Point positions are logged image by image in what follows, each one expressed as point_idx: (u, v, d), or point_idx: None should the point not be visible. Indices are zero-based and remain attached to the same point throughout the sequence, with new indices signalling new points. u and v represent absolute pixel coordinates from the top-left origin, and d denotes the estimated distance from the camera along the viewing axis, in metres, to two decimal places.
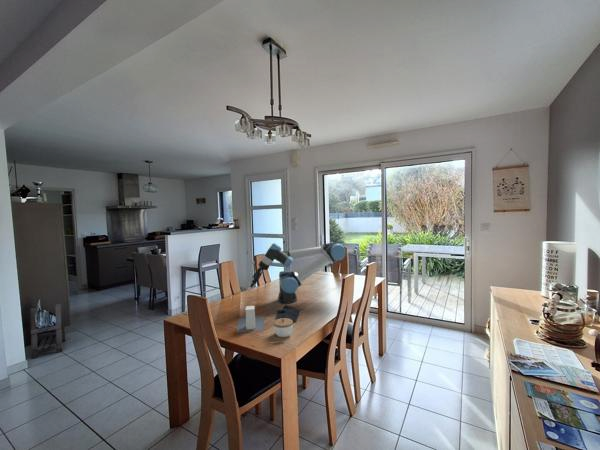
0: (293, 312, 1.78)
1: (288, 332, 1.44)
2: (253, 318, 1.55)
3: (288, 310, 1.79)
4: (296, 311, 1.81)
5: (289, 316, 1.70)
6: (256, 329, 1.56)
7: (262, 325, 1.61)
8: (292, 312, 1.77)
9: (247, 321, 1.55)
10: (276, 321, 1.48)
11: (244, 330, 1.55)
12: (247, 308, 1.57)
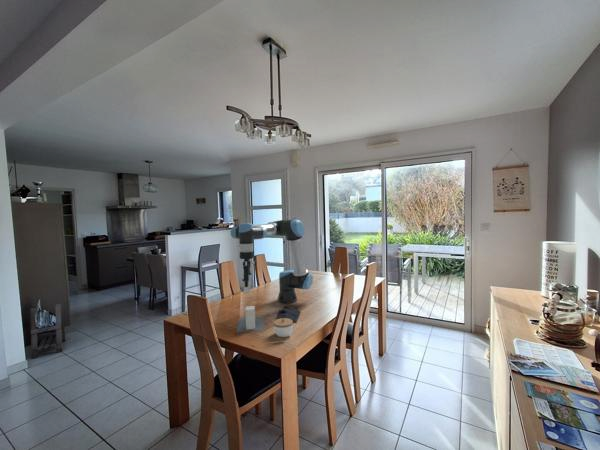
0: (294, 312, 1.77)
1: (288, 332, 1.44)
2: (253, 318, 1.55)
3: (288, 310, 1.79)
4: (297, 311, 1.80)
5: (290, 316, 1.69)
6: (256, 329, 1.56)
7: (262, 325, 1.61)
8: (293, 312, 1.77)
9: (247, 321, 1.55)
10: (276, 321, 1.48)
11: (244, 330, 1.55)
12: (247, 308, 1.57)
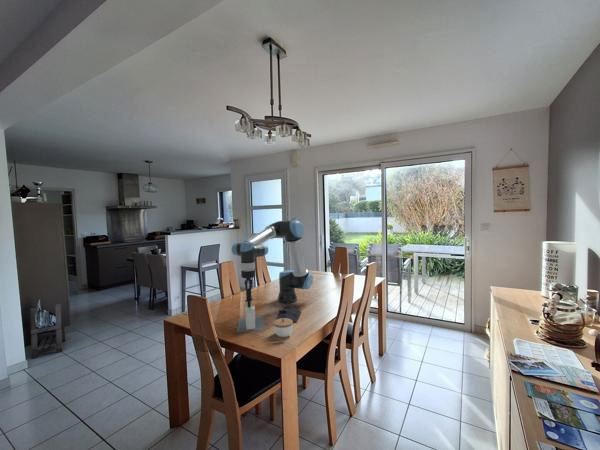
0: (294, 312, 1.77)
1: (288, 332, 1.44)
2: (253, 318, 1.55)
3: (289, 310, 1.78)
4: (297, 311, 1.80)
5: (290, 316, 1.69)
6: (256, 329, 1.56)
7: (262, 325, 1.61)
8: (293, 312, 1.77)
9: (247, 321, 1.55)
10: (276, 321, 1.48)
11: (244, 330, 1.55)
12: None
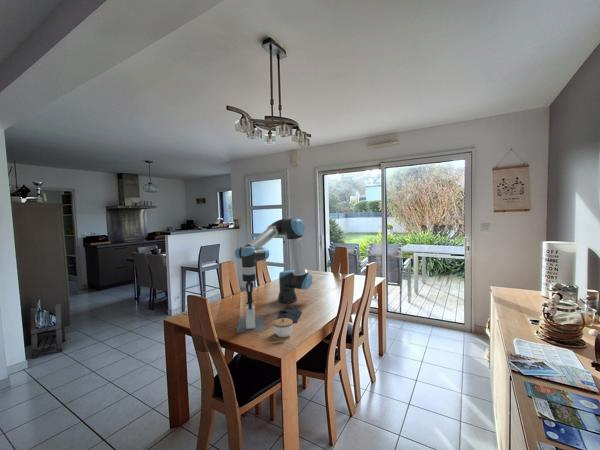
0: (295, 312, 1.77)
1: (288, 332, 1.44)
2: (253, 317, 1.56)
3: (290, 310, 1.78)
4: (298, 311, 1.80)
5: (290, 317, 1.69)
6: (256, 329, 1.56)
7: (262, 325, 1.61)
8: (294, 312, 1.76)
9: (247, 320, 1.55)
10: (276, 321, 1.48)
11: (244, 330, 1.55)
12: (247, 307, 1.58)
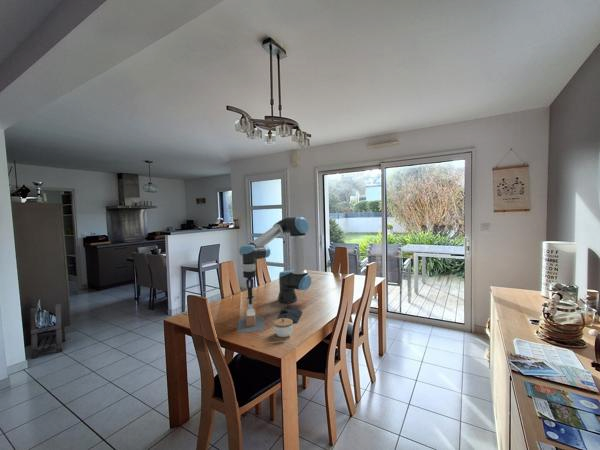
0: (295, 312, 1.77)
1: (288, 332, 1.44)
2: (253, 311, 1.68)
3: (290, 310, 1.78)
4: (298, 311, 1.80)
5: (291, 317, 1.69)
6: (256, 329, 1.56)
7: (262, 325, 1.61)
8: (294, 312, 1.76)
9: (248, 313, 1.66)
10: (276, 321, 1.48)
11: (244, 330, 1.55)
12: None
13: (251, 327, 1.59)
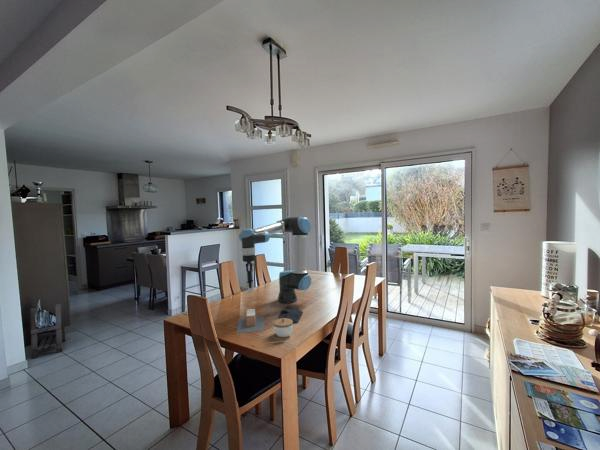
0: (296, 313, 1.76)
1: (288, 332, 1.44)
2: (253, 311, 1.68)
3: (291, 310, 1.78)
4: (299, 312, 1.79)
5: (291, 317, 1.69)
6: (256, 329, 1.56)
7: (262, 325, 1.61)
8: (295, 313, 1.76)
9: (248, 313, 1.66)
10: (276, 321, 1.48)
11: (244, 330, 1.55)
12: None
13: (251, 327, 1.59)
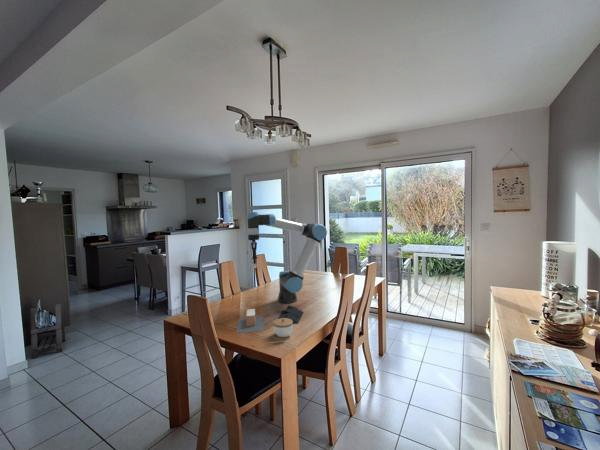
0: (296, 313, 1.76)
1: (288, 332, 1.44)
2: (253, 311, 1.68)
3: (291, 310, 1.78)
4: (299, 312, 1.79)
5: (292, 317, 1.68)
6: (256, 329, 1.56)
7: (262, 325, 1.61)
8: (295, 313, 1.76)
9: (248, 313, 1.66)
10: (276, 321, 1.48)
11: (244, 330, 1.55)
12: None
13: (251, 327, 1.59)
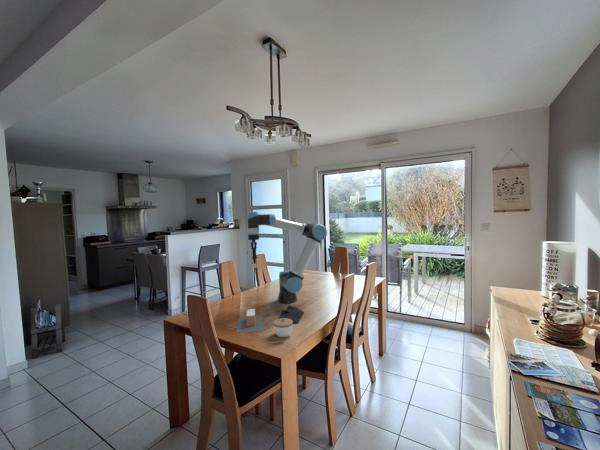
0: (296, 313, 1.76)
1: (288, 332, 1.44)
2: (253, 311, 1.68)
3: (291, 310, 1.78)
4: (300, 312, 1.79)
5: (292, 317, 1.68)
6: (256, 329, 1.56)
7: (262, 325, 1.61)
8: (295, 313, 1.76)
9: (248, 313, 1.66)
10: (276, 321, 1.48)
11: (244, 330, 1.55)
12: None
13: (251, 327, 1.59)
